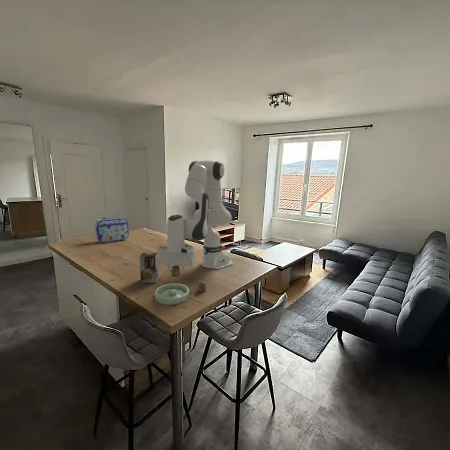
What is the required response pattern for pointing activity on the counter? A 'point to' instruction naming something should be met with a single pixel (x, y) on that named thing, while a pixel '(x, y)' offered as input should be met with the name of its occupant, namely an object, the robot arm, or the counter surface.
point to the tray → (172, 294)
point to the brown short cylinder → (202, 286)
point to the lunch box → (111, 229)
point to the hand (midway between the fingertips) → (175, 272)
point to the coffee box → (149, 268)
